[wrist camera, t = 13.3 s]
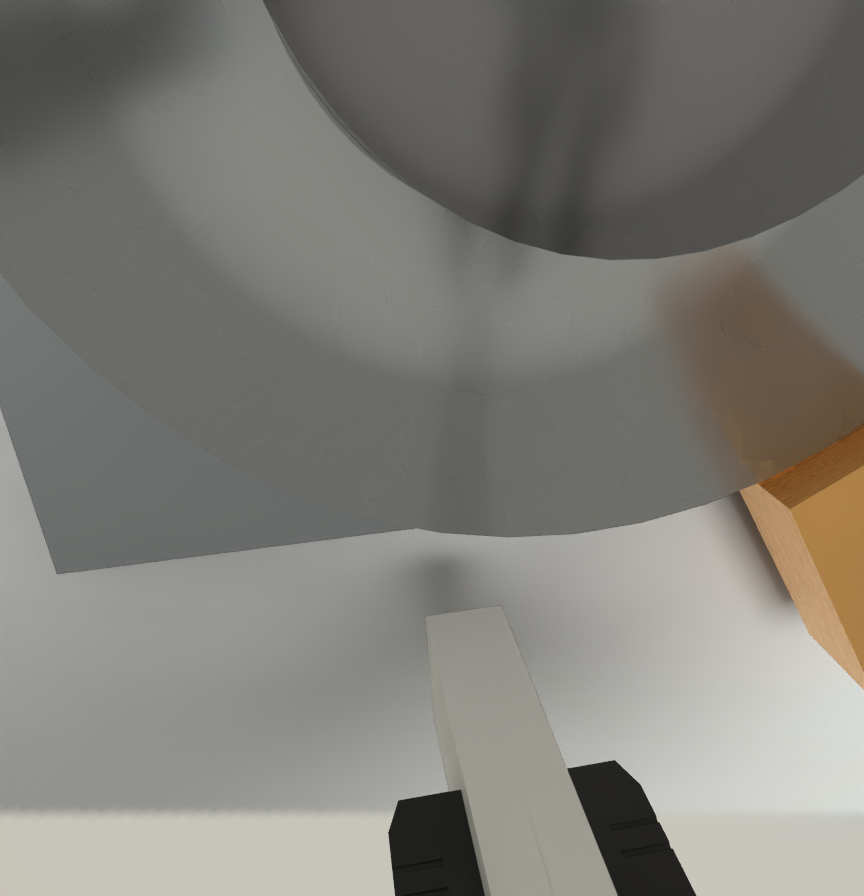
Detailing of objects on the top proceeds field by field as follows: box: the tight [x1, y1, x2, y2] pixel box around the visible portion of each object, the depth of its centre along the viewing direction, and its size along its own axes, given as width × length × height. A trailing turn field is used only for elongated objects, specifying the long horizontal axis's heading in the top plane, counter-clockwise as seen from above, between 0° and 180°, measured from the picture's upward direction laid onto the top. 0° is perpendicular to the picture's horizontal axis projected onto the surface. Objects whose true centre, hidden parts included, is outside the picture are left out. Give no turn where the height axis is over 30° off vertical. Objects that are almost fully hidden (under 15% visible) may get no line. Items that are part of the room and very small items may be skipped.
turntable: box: [0, 0, 864, 689], centre depth 11 cm, size 20×26×2 cm
